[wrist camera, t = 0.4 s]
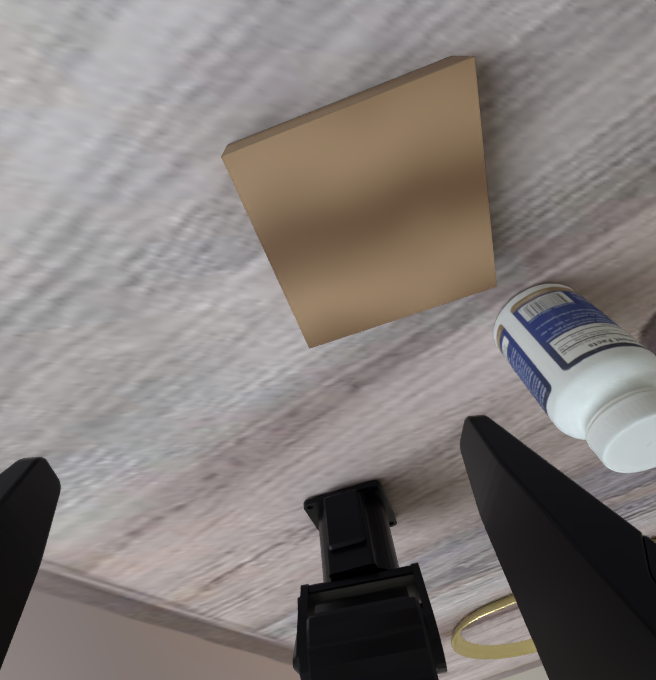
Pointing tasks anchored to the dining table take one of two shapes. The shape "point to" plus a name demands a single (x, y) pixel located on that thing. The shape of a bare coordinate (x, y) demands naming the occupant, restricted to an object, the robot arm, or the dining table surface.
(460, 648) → the oval ring
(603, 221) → the dining table surface
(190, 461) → the dining table surface
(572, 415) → the pill bottle
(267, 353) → the dining table surface
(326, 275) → the tan slab
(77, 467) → the dining table surface
